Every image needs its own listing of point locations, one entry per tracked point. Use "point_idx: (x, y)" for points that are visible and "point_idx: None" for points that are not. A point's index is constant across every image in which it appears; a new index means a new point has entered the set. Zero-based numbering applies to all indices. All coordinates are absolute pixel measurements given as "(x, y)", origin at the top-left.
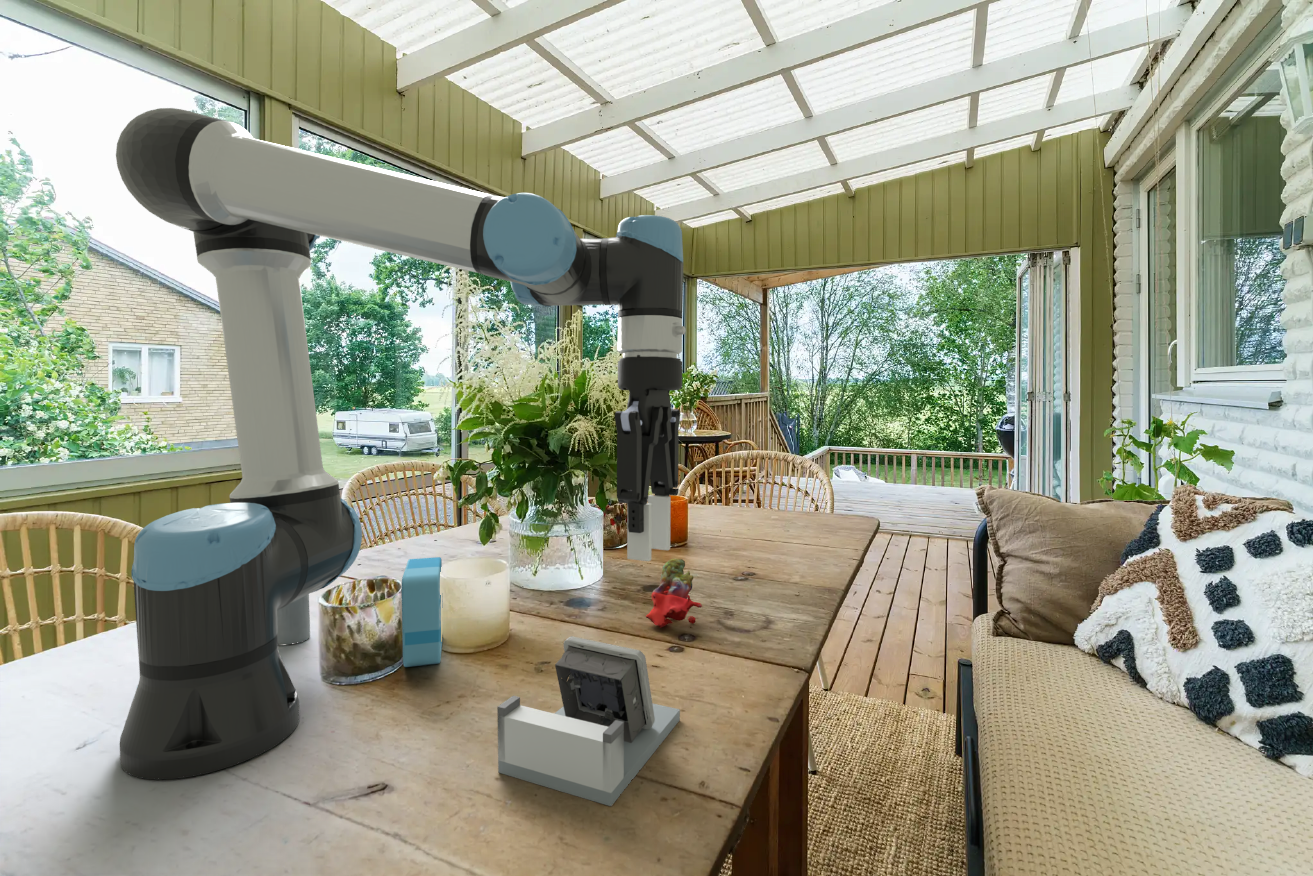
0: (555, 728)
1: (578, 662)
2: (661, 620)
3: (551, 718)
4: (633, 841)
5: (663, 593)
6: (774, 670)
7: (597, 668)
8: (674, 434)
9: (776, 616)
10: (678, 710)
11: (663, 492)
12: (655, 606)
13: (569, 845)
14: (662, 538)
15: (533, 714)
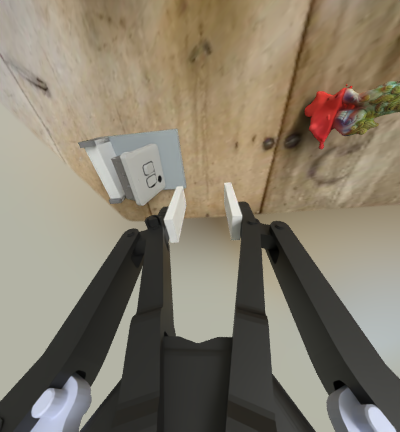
0: (100, 176)
1: (120, 172)
2: (308, 113)
3: (103, 169)
4: (118, 203)
5: (343, 104)
6: (253, 204)
7: (124, 185)
8: (308, 351)
9: (345, 182)
10: (184, 187)
11: (241, 235)
12: (326, 100)
13: (102, 189)
14: (225, 204)
15: (97, 159)
